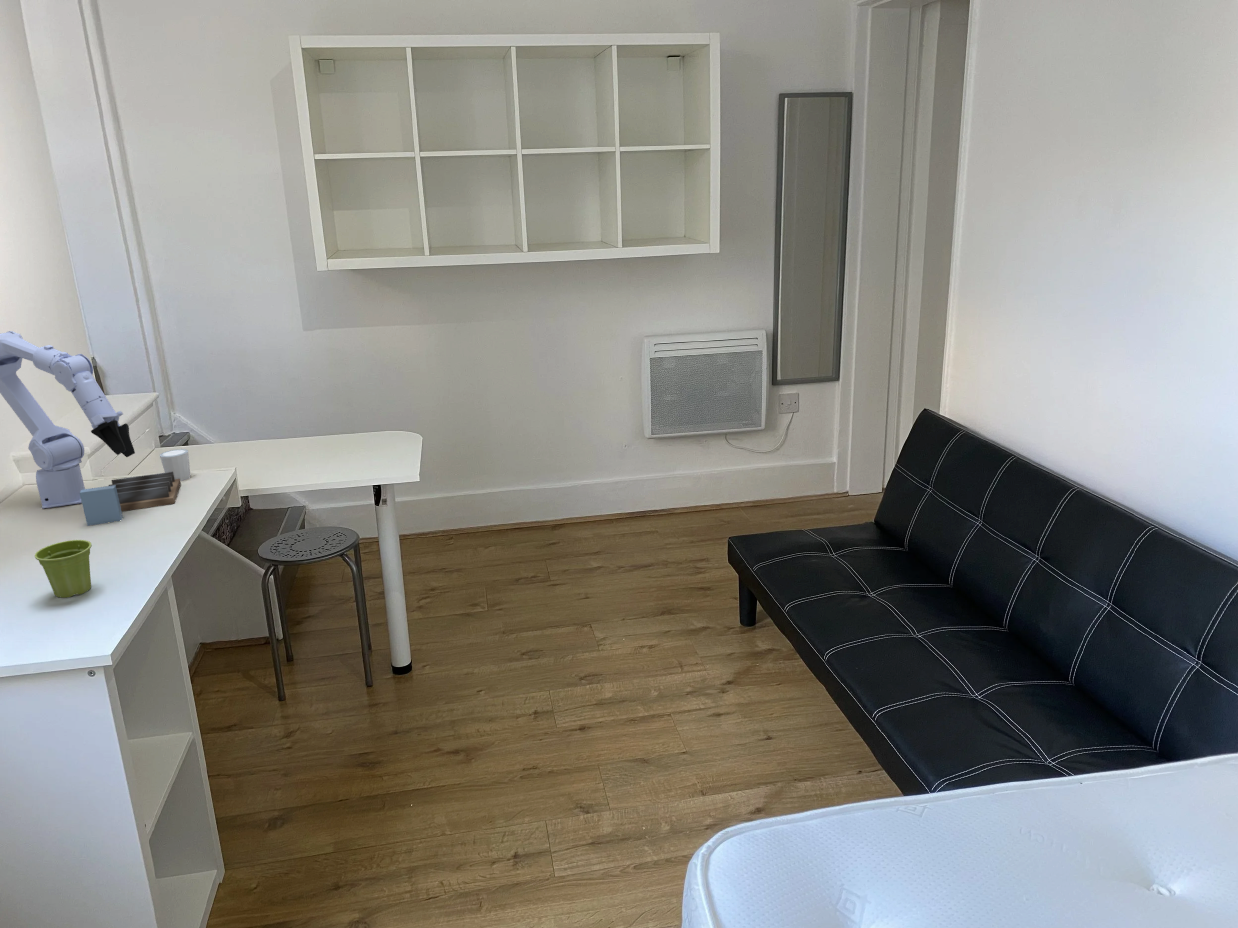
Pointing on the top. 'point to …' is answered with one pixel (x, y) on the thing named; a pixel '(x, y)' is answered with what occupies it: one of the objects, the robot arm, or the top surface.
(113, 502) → the block
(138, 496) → the rack
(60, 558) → the plant pot
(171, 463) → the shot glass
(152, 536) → the top surface
